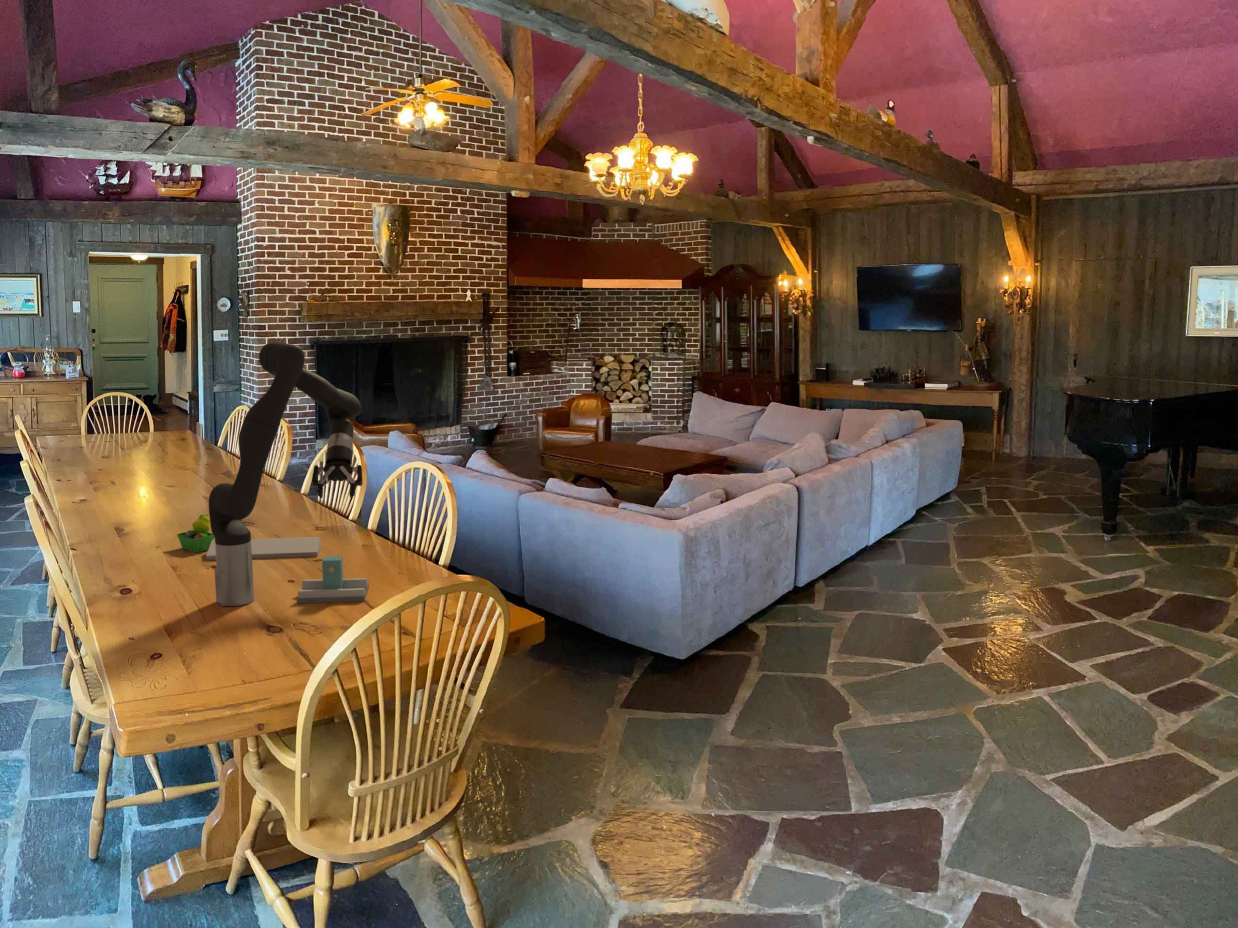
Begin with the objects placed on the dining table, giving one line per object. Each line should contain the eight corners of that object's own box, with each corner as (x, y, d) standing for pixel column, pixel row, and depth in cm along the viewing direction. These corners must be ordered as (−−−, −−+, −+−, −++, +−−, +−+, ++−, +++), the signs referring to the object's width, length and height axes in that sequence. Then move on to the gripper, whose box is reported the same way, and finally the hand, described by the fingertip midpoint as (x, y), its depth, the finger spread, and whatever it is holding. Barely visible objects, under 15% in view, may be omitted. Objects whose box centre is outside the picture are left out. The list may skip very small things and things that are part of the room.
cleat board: (297, 603, 262) (297, 589, 261) (305, 589, 275) (304, 575, 274) (364, 601, 265) (363, 587, 264) (368, 587, 278) (368, 574, 277)
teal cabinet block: (322, 595, 265) (321, 561, 263) (325, 589, 270) (324, 556, 269) (341, 595, 266) (340, 561, 264) (343, 589, 271) (342, 555, 269)
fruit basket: (176, 548, 315) (174, 515, 313) (200, 543, 322) (199, 511, 320) (195, 554, 308) (193, 520, 306) (220, 548, 315) (218, 516, 313)
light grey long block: (318, 564, 310) (321, 548, 319) (317, 551, 308) (320, 536, 317) (207, 568, 303) (213, 552, 312) (206, 555, 301) (212, 540, 310)
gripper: (313, 444, 280) (308, 489, 271) (362, 444, 282) (359, 489, 273) (317, 458, 286) (312, 503, 277) (365, 458, 289) (362, 503, 279)
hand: (336, 496), depth 275 cm, fingers open, 8 cm apart
